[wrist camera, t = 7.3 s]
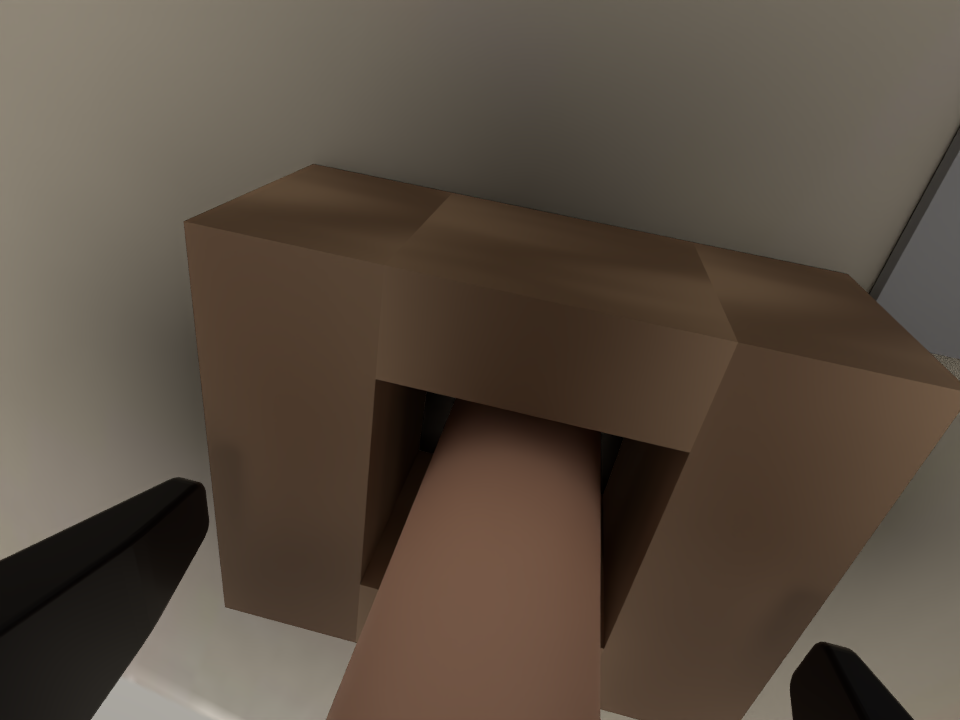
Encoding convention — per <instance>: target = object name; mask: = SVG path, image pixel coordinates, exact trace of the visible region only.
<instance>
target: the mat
mask: <svg viewBox="0 0 960 720" xmlns="http://www.w3.org/2000/svg"><path fill="white" fill-rule="evenodd" d="M869 295H870V296H871V297H872V298H873V299H874V300H875V301H877V302H878V303H879V304H880V305H881V306H882V307H883V308H884V309H885V310H886V311H887V312H888V313H889V314H890V315H891V316H892V317H893V318H894V319H895V320H896V321H897V322H898V323H899V324H901V325H902V326H903V327H904V328H905V329H906V330H907V331H908V332H909V333H910V334H911V335H912V336H913V337H914V338H915V339H916V340H917V341H918V342H919V343H920V344H921V345H922V346H923V347H924V348H926V349H927V350H928V351H929V352H930V353H933V354H938V355H943V356H947V357H952V358H957V359H960V129H959V130H958V132H957V134H956V136H955V138H954V140H953V141H952V143H951V145H950V147H949V149H948V151H947V153H946V154H945V156H944V158H943V160H942V162H941V164H940V165H939V167H938V169H937V171H936V173H935V175H934V176H933V178H932V180H931V182H930V184H929V186H928V188H927V189H926V191H925V193H924V195H923V197H922V199H921V200H920V202H919V204H918V206H917V208H916V210H915V211H914V213H913V215H912V217H911V219H910V221H909V223H908V224H907V226H906V228H905V230H904V232H903V234H902V235H901V237H900V239H899V241H898V243H897V245H896V246H895V248H894V250H893V252H892V254H891V256H890V257H889V259H888V261H887V263H886V265H885V267H884V269H883V270H882V272H881V274H880V276H879V278H878V280H877V281H876V283H875V285H874V287H873V289H872V291H871V292H870V294H869Z"/></svg>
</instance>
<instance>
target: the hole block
mask: <svg viewBox="0 0 960 720" xmlns="http://www.w3.org/2000/svg"><path fill="white" fill-rule="evenodd" d="M184 229H185V238H186V247H187V257H188V266H189V275H190V285H191V294H192V303H193V313H194V322H195V331H196V341H197V350H198V359H199V368H200V378H201V387H202V396H203V406H204V415H205V424H206V434H207V443H208V452H209V462H210V471H211V480H212V490H213V499H214V508H215V517H216V527H217V536H218V545H219V555H220V564H221V573H222V583H223V592H224V601H225V607H227V608H230V609H234V610H238V611H241V612H245V613H249V614H252V615H256V616H260V617H263V618H267V619H271V620H274V621H278V622H282V623H285V624H289V625H293V626H296V627H300V628H304V629H307V630H311V631H315V632H318V633H322V634H326V635H330V636H333V637H337V638H341V639H344V640H348V641H352V642H355V643H357V642H358V639H359V637H360V634H361V632H362V629H363V627H364V624H365V622H366V619H367V617H368V614H369V612H370V609H371V607H372V605H373V602H374V600H375V597H376V595H377V592H378V590H379V587H380V585H381V582H382V580H383V577H384V575H385V572H386V570H387V567H388V565H389V562H390V560H391V557H392V555H393V553H394V550H395V548H396V545H397V543H398V540H399V538H400V535H401V533H402V530H403V528H404V525H405V523H406V520H407V518H408V515H409V513H410V510H411V508H412V505H413V503H414V501H415V498H416V496H417V493H418V491H419V488H420V486H421V483H422V481H423V478H424V476H425V473H426V471H427V468H428V466H429V463H430V461H431V458H432V456H433V454H432V453H428V452H424V451H420V450H419V446H420V439H421V431H422V423H423V416H424V408H425V400H426V393H427V391H429V392H433V393H437V394H441V395H446V396H450V397H454V398H458V399H463V400H467V401H471V402H476V403H480V404H484V405H488V406H493V407H497V408H501V409H505V410H510V411H514V412H518V413H522V414H527V415H531V416H535V417H540V418H544V419H548V420H552V421H557V422H561V423H565V424H569V425H574V426H578V427H582V428H586V429H591V430H595V431H599V432H604V433H608V434H612V435H616V436H621V437H624V438H623V441H622V444H621V446H620V449H619V452H618V455H617V458H616V460H615V463H614V466H613V469H612V472H611V474H610V477H609V480H608V483H607V486H606V489H605V491H604V494H603V495H601V572H600V709H602V710H605V711H609V712H613V713H616V714H620V715H624V716H627V717H631V718H635V719H638V720H741V719H742V718H743V716H744V715H745V713H746V712H747V711H748V709H749V708H750V706H751V705H752V704H753V702H754V701H755V699H756V698H757V697H758V695H759V694H760V692H761V691H762V689H763V688H764V687H765V685H766V684H767V682H768V681H769V680H770V678H771V677H772V675H773V674H774V673H775V671H776V670H777V668H778V667H779V665H780V664H781V663H782V661H783V660H784V658H785V657H786V656H787V654H788V653H789V651H790V650H791V649H792V647H793V646H794V644H795V643H796V642H797V640H798V639H799V637H800V636H801V634H802V633H803V632H804V630H805V629H806V627H807V626H808V625H809V623H810V622H811V620H812V619H813V618H814V616H815V615H816V613H817V612H818V610H819V609H820V608H821V606H822V605H823V603H824V602H825V601H826V599H827V598H828V596H829V595H830V594H831V592H832V591H833V589H834V588H835V587H836V585H837V584H838V582H839V581H840V579H841V578H842V577H843V575H844V574H845V572H846V571H847V570H848V568H849V567H850V565H851V564H852V563H853V561H854V560H855V558H856V557H857V555H858V554H859V553H860V551H861V550H862V548H863V547H864V546H865V544H866V543H867V541H868V540H869V539H870V537H871V536H872V534H873V533H874V532H875V530H876V529H877V527H878V526H879V524H880V523H881V522H882V520H883V519H884V517H885V516H886V515H887V513H888V512H889V510H890V509H891V508H892V506H893V505H894V503H895V502H896V500H897V499H898V498H899V496H900V495H901V493H902V492H903V491H904V489H905V488H906V486H907V485H908V484H909V482H910V481H911V479H912V478H913V477H914V475H915V474H916V472H917V471H918V469H919V468H920V467H921V465H922V464H923V462H924V461H925V460H926V458H927V457H928V455H929V454H930V453H931V451H932V450H933V448H934V447H935V446H936V444H937V443H938V441H939V440H940V438H941V437H942V436H943V434H944V433H945V431H946V430H947V429H948V427H949V426H950V424H951V423H952V422H953V420H954V419H955V417H956V416H957V414H958V413H959V412H960V381H959V380H958V379H957V378H956V377H955V376H954V375H953V374H952V373H951V372H950V371H948V370H947V369H946V368H945V367H944V366H943V365H942V364H941V363H940V362H939V361H938V360H937V359H936V358H935V357H934V356H933V355H932V354H931V353H930V352H929V351H928V350H927V349H926V348H924V347H923V346H922V345H921V344H920V343H919V342H918V341H917V340H916V339H915V338H914V337H913V336H912V335H911V334H910V333H909V332H908V331H907V330H906V329H905V328H904V327H903V326H902V325H901V324H899V323H898V322H897V321H896V320H895V319H894V318H893V317H892V316H891V315H890V314H889V313H888V312H887V311H886V310H885V309H884V308H883V307H882V306H881V305H880V304H879V303H878V302H877V301H875V300H874V299H873V298H872V297H871V296H870V295H869V294H868V293H867V292H866V291H865V290H864V289H863V288H862V287H861V286H860V285H859V284H858V283H857V282H856V281H855V280H854V279H853V278H852V277H850V276H849V275H848V274H844V273H839V272H834V271H830V270H825V269H820V268H815V267H810V266H805V265H800V264H796V263H791V262H786V261H781V260H776V259H771V258H766V257H762V256H757V255H752V254H747V253H742V252H737V251H733V250H728V249H723V248H718V247H713V246H708V245H703V244H699V243H694V242H689V241H684V240H679V239H674V238H669V237H665V236H660V235H655V234H650V233H645V232H640V231H635V230H631V229H626V228H621V227H616V226H611V225H606V224H601V223H597V222H592V221H587V220H582V219H577V218H572V217H568V216H563V215H558V214H553V213H548V212H543V211H538V210H534V209H529V208H524V207H519V206H514V205H509V204H504V203H500V202H495V201H490V200H485V199H480V198H475V197H470V196H466V195H461V194H456V193H451V192H446V191H441V190H437V189H432V188H427V187H422V186H417V185H412V184H407V183H403V182H398V181H393V180H388V179H383V178H378V177H373V176H369V175H364V174H359V173H354V172H349V171H344V170H339V169H335V168H330V167H325V166H320V165H315V164H312V165H310V166H308V167H305V168H303V169H301V170H298V171H296V172H294V173H292V174H289V175H287V176H285V177H283V178H280V179H278V180H276V181H274V182H271V183H269V184H267V185H265V186H262V187H260V188H258V189H256V190H253V191H251V192H249V193H247V194H244V195H242V196H240V197H238V198H235V199H233V200H231V201H229V202H226V203H224V204H222V205H220V206H217V207H215V208H213V209H211V210H208V211H206V212H204V213H202V214H199V215H197V216H195V217H193V218H190V219H188V220H186V221H184Z"/></svg>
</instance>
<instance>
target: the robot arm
mask: <svg viewBox="0 0 960 720" xmlns="http://www.w3.org/2000/svg"><path fill="white" fill-rule="evenodd" d="M208 527H209V516H208V507H207V499H206V490H205V487H204V486H203V484H202V483H200V482H197V481H193V480H189V479H185V478H180V477H177V478H172V479H170V480H168V481H165V482H163V483H161V484H159V485H157V486H155V487H153V488H151V489H149V490H147V491H145V492H142V493H140V494H138V495H136V496H134V497H132V498H130V499H128V500H126V501H124V502H122V503H119V504H117V505H115V506H113V507H111V508H109V509H107V510H105V511H103V512H101V513H99V514H96V515H94V516H92V517H90V518H88V519H86V520H84V521H82V522H80V523H78V524H76V525H73V526H71V527H69V528H67V529H65V530H63V531H61V532H59V533H57V534H55V535H53V536H50V537H48V538H46V539H44V540H42V541H40V542H38V543H36V544H34V545H32V546H30V547H27V548H25V549H23V550H21V551H19V552H17V553H15V554H13V555H11V556H9V557H7V558H4V559H2V560H0V720H91V719H92V717H93V716H94V714H95V713H96V712H97V710H98V709H99V707H100V706H101V704H102V703H103V701H104V700H105V699H106V697H107V696H108V694H109V693H110V691H111V690H112V689H113V687H114V686H115V684H116V683H117V681H118V680H119V679H120V677H121V676H122V674H123V673H124V671H125V670H126V668H127V667H128V666H129V664H130V663H131V661H132V660H133V658H134V657H135V656H136V654H137V653H138V651H139V650H140V648H141V647H142V645H143V644H144V642H145V641H146V639H147V638H148V636H149V635H150V633H151V632H152V630H153V629H154V627H155V625H156V623H157V622H158V620H159V618H160V617H161V615H162V613H163V611H164V610H165V608H166V606H167V604H168V602H169V601H170V599H171V597H172V595H173V593H174V592H175V590H176V588H177V586H178V585H179V583H180V581H181V579H182V577H183V576H184V574H185V572H186V570H187V568H188V567H189V565H190V563H191V561H192V559H193V558H194V556H195V554H196V552H197V551H198V549H199V547H200V545H201V543H202V542H203V540H204V538H205V536H206V533H207V531H208ZM790 697H791V706H792V716H793V720H914V719H913V718H912V717H911V716H910V715H909V713H908V712H907V711H906V710H905V709H904V708H903V707H902V705H901V704H900V703H899V702H898V701H897V700H896V698H895V697H894V696H893V695H892V694H891V693H890V692H889V690H888V689H887V688H886V687H885V686H884V685H883V684H882V682H881V681H880V680H879V679H878V678H877V677H876V676H875V674H874V673H873V672H872V671H871V670H870V669H869V668H868V666H867V665H866V664H865V663H864V662H863V661H862V660H861V658H860V657H859V656H858V655H857V654H856V653H855V652H853V651H852V650H850V649H848V648H846V647H842V646H838V645H834V644H831V643H827V642H819V643H817V644H815V645H814V646H813V647H812V649H811V650H810V651H809V653H808V654H807V655H806V657H805V658H804V659H803V661H802V662H801V664H800V665H799V666H798V668H797V669H796V670H795V672H794V673H793V675H792V678H791V683H790Z"/></svg>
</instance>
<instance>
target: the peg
mask: <svg viewBox="0 0 960 720" xmlns="http://www.w3.org/2000/svg"><path fill="white" fill-rule="evenodd" d="M600 572H601V432H599V431H595V430H591V429H586V428H582V427H578V426H574V425H569V424H565V423H561V422H557V421H552V420H548V419H544V418H540V417H535V416H531V415H527V414H522V413H518V412H514V411H510V410H505V409H501V408H497V407H493V406H488V405H484V404H480V403H476V402H471V401H467V400H463V399H458V398H456V399H455V401H454V404H453V406H452V409H451V411H450V414H449V416H448V419H447V421H446V424H445V426H444V429H443V431H442V434H441V436H440V439H439V441H438V444H437V446H436V449H435V451H434V453H433V456H432V458H431V461H430V463H429V466H428V468H427V471H426V473H425V476H424V478H423V481H422V483H421V486H420V488H419V491H418V493H417V496H416V498H415V501H414V503H413V505H412V508H411V510H410V513H409V515H408V518H407V520H406V523H405V525H404V528H403V530H402V533H401V535H400V538H399V540H398V543H397V545H396V548H395V550H394V553H393V555H392V557H391V560H390V562H389V565H388V567H387V570H386V572H385V575H384V577H383V580H382V582H381V585H380V587H379V590H378V592H377V595H376V597H375V600H374V602H373V605H372V607H371V609H370V612H369V614H368V617H367V619H366V622H365V624H364V627H363V629H362V632H361V634H360V637H359V639H358V642H357V644H356V647H355V649H354V652H353V654H352V657H351V659H350V661H349V664H348V666H347V669H346V671H345V674H344V676H343V679H342V681H341V684H340V686H339V689H338V691H337V694H336V696H335V699H334V701H333V704H332V706H331V709H330V711H329V713H328V716H327V718H326V720H600Z"/></svg>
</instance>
